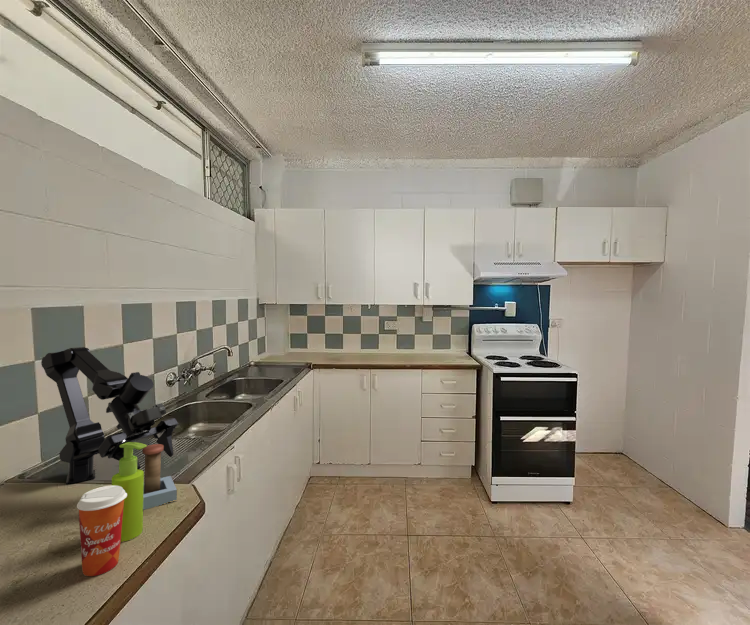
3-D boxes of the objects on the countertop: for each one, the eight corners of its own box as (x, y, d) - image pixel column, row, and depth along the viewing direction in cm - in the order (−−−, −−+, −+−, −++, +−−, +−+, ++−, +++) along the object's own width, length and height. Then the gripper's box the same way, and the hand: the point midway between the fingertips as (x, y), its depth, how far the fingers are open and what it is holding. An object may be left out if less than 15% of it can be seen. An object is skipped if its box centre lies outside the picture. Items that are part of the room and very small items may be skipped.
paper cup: (70, 585, 66) (71, 507, 66) (80, 560, 72) (82, 488, 73) (123, 572, 69) (124, 497, 69) (128, 549, 76) (129, 481, 76)
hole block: (127, 496, 97) (127, 485, 98) (170, 486, 104) (170, 475, 104) (130, 513, 90) (130, 500, 90) (176, 501, 96) (176, 489, 96)
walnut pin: (136, 501, 95) (138, 448, 95) (154, 493, 100) (155, 443, 100) (149, 505, 93) (150, 451, 94) (166, 496, 98) (167, 445, 98)
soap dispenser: (130, 544, 77) (132, 449, 78) (103, 540, 79) (105, 446, 79) (152, 529, 83) (154, 440, 83) (127, 525, 85) (128, 437, 85)
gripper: (106, 403, 90) (136, 456, 85) (174, 389, 107) (202, 432, 103) (85, 431, 93) (113, 483, 88) (155, 413, 110) (181, 456, 106)
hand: (156, 462), depth 96 cm, fingers open, 9 cm apart
